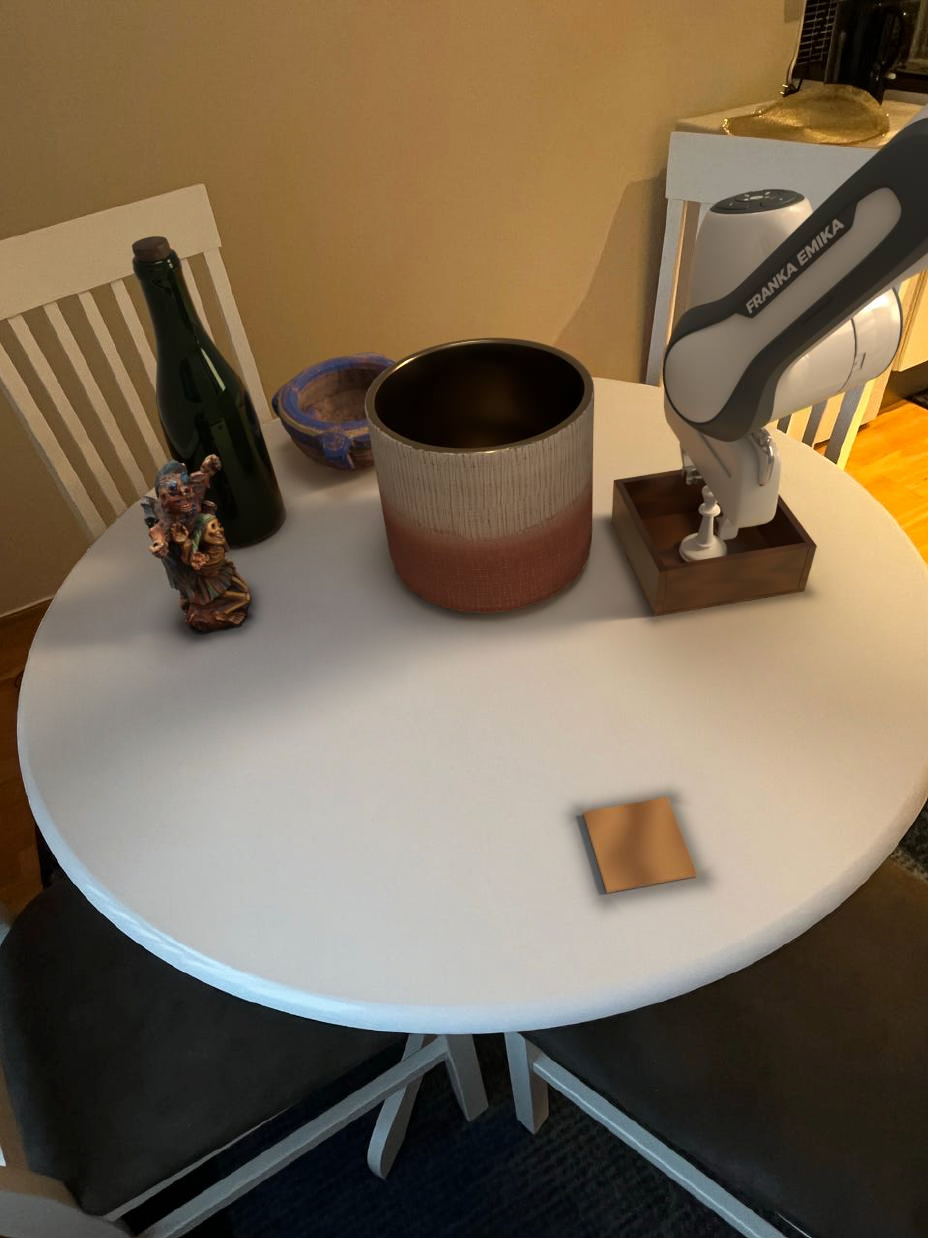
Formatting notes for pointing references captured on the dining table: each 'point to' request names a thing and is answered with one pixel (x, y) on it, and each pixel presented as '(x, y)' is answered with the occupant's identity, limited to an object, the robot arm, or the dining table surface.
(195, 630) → the figurine
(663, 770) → the dining table surface
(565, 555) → the planter
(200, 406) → the green wine bottle
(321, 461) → the bowl
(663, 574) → the crate
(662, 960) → the dining table surface
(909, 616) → the dining table surface
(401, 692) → the dining table surface
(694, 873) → the coaster
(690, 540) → the chess piece
